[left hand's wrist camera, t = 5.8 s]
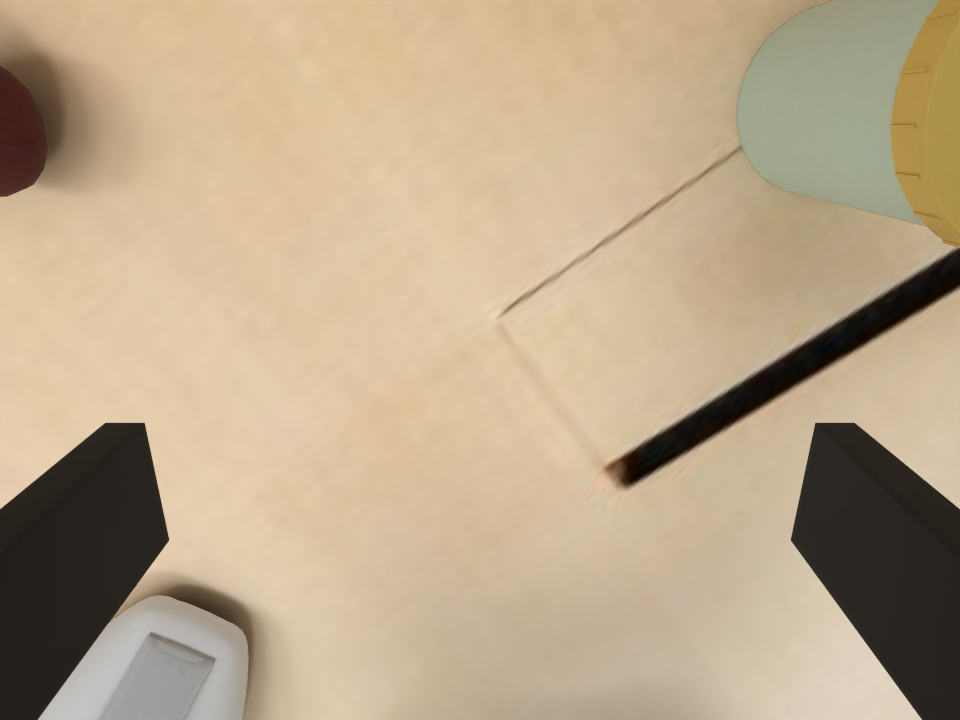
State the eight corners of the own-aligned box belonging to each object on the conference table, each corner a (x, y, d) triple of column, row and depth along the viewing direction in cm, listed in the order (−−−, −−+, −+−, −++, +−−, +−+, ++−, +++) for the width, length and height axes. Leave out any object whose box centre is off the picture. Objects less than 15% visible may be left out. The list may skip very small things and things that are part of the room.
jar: (959, 73, 36) (1341, 39, 20) (830, 228, 39) (1071, 306, 23) (824, -41, 34) (1129, -181, 18) (699, 131, 37) (866, 144, 21)
